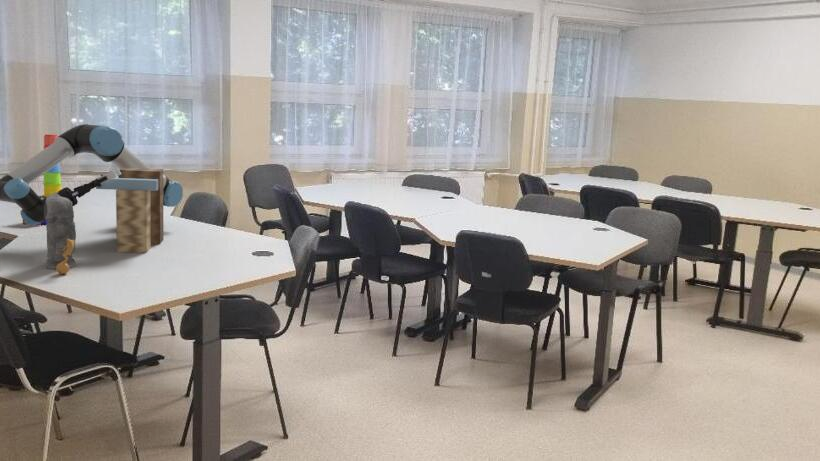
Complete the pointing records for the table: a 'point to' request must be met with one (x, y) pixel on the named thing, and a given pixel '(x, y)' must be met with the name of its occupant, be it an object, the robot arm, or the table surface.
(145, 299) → the table surface
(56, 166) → the stacking cups
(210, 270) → the table surface
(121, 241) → the tan tall block
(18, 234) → the table surface
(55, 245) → the figurine
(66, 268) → the figurine
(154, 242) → the tower
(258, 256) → the table surface
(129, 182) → the beam
